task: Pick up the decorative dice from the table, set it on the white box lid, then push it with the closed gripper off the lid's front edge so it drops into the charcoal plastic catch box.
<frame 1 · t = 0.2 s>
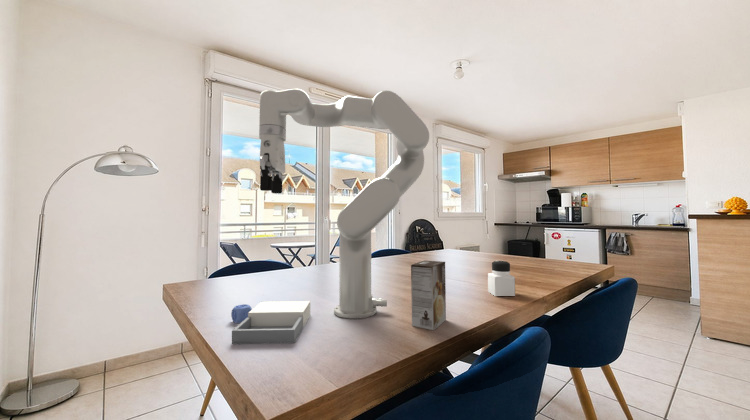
hand: (271, 191, 90), 36 cm above the table, tool pointing down, fingers open, 9 cm apart
coffee box: (429, 323, 81), on the table
medicine bottle: (501, 295, 110), on the table
catch box: (269, 335, 73), on the table
white box lid: (281, 321, 83), on the table
decorative dice: (241, 321, 84), on the table
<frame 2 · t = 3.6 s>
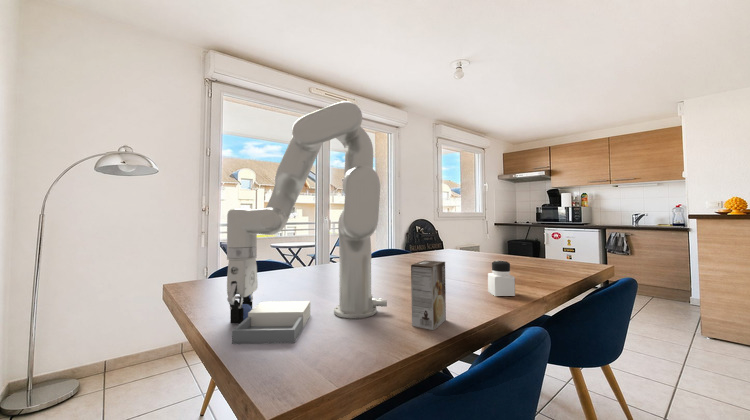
hand: (241, 318, 84), 1 cm above the table, tool pointing down, fingers closed on decorative dice, 5 cm apart
decorative dice: (241, 321, 84), on the table, touching gripper
everything else where it was.
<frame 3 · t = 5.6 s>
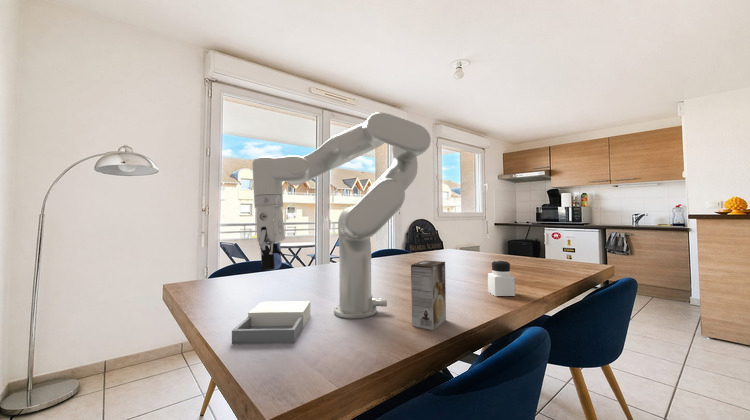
hand: (272, 266, 85), 15 cm above the table, tool pointing down, fingers closed on decorative dice, 5 cm apart
decorative dice: (271, 269, 85), point 14 cm above the table, touching gripper
everything else where it was.
when the fingers open (6 cm above the table, at t = 8.1 s): decorative dice drops 1 cm, resting on white box lid.
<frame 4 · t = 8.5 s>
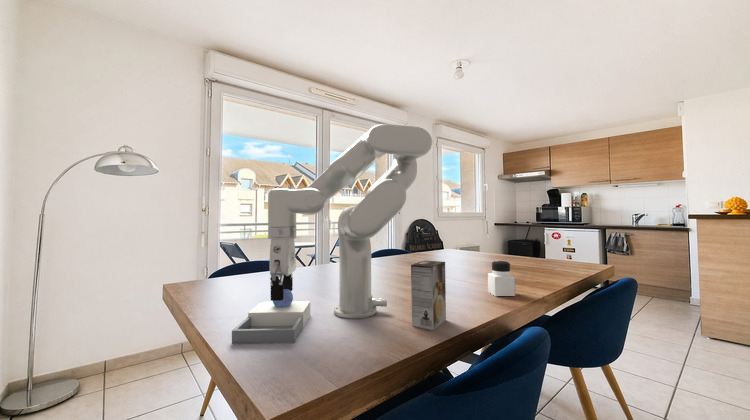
hand: (282, 295, 84), 7 cm above the table, tool pointing down, fingers open, 9 cm apart
decorative dice: (282, 306, 84), point 4 cm above the table, touching white box lid
everything else where it was.
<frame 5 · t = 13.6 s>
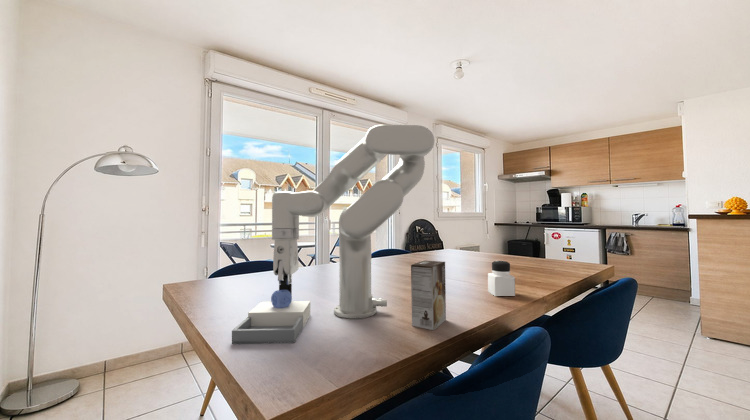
hand: (285, 297, 88), 5 cm above the table, tool pointing down, fingers closed
decorative dice: (281, 306, 83), point 4 cm above the table, touching white box lid, gripper
everything else where it was.
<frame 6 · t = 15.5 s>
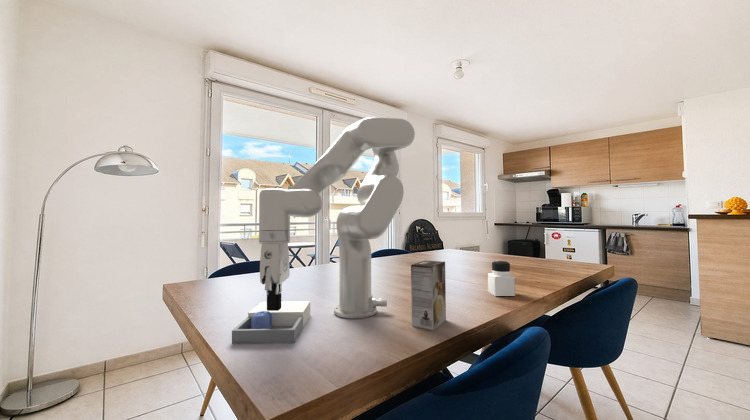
hand: (274, 309, 77), 5 cm above the table, tool pointing down, fingers closed
decorative dice: (264, 318, 78), point 3 cm above the table, touching catch box
everything else where it was.
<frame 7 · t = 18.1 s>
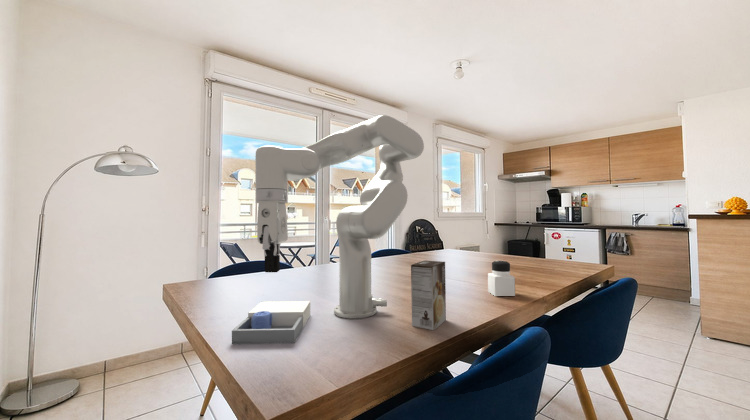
hand: (272, 271, 75), 15 cm above the table, tool pointing down, fingers closed
nothing on the table moved.
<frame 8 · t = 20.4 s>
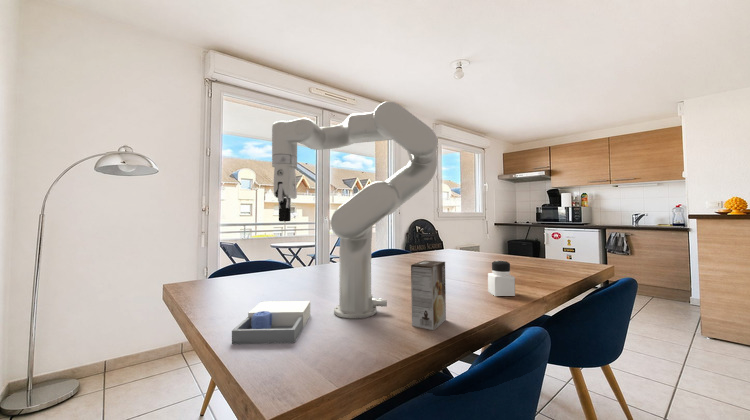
hand: (284, 221, 95), 27 cm above the table, tool pointing down, fingers closed
nothing on the table moved.
at the end: decorative dice inside the target area (4.5 cm from its centre), point 2.6 cm above the table; decorative dice touching catch box; the gripper is holding nothing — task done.
